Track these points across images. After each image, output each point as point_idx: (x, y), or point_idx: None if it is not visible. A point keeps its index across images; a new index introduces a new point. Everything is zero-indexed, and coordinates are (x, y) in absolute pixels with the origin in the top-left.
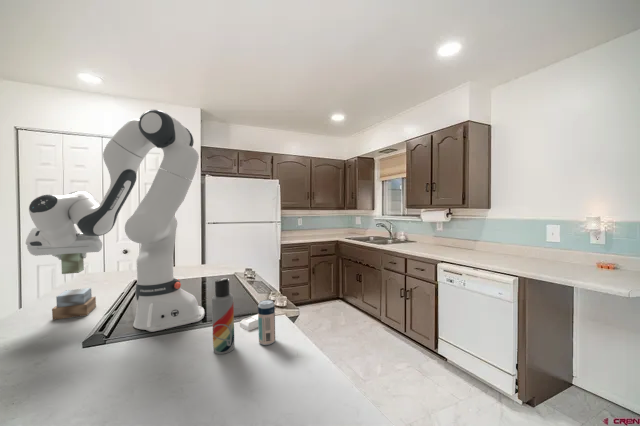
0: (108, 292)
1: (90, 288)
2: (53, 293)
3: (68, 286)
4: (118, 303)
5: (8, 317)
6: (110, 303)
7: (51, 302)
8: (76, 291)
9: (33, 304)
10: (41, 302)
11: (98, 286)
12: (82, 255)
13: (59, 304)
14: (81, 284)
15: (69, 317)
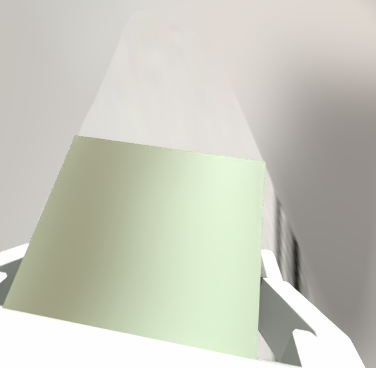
0: (237, 119)
1: None
2: (116, 64)
3: (139, 26)
4: (289, 251)
5: (41, 211)
6: (265, 236)
7: (118, 136)
8: None
9: (84, 130)
10: (98, 123)
11: (203, 55)
12: (258, 329)
13: None
14: (164, 23)
15: None
